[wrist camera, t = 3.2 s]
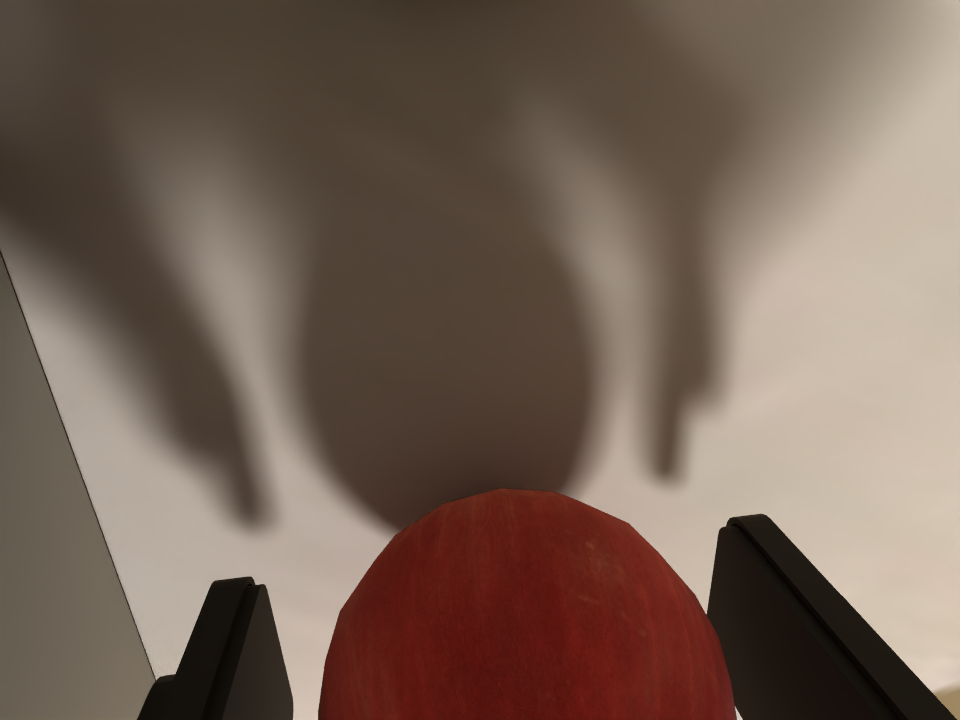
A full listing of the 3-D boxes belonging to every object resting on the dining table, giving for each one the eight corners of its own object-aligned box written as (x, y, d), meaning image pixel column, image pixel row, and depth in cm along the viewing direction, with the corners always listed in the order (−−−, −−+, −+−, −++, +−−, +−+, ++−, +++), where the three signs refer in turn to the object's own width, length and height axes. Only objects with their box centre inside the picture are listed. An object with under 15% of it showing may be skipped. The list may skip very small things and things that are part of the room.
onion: (679, 480, 12) (1107, 1034, 5) (526, 667, 14) (675, 1304, 6) (437, 352, 10) (529, 921, 3) (292, 583, 12) (123, 1332, 5)
